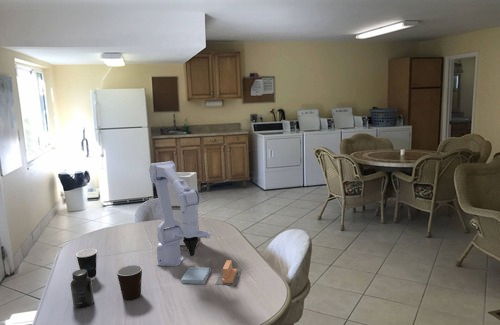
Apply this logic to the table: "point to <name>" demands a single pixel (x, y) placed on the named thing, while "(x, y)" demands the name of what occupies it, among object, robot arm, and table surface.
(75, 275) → the supplement bottle
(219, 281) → the pad
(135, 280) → the coffee mug
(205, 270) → the light blue notched panel
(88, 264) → the dixie cup
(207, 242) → the table surface
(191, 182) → the tall white rectangular box
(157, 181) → the robot arm
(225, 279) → the stub
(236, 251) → the table surface
